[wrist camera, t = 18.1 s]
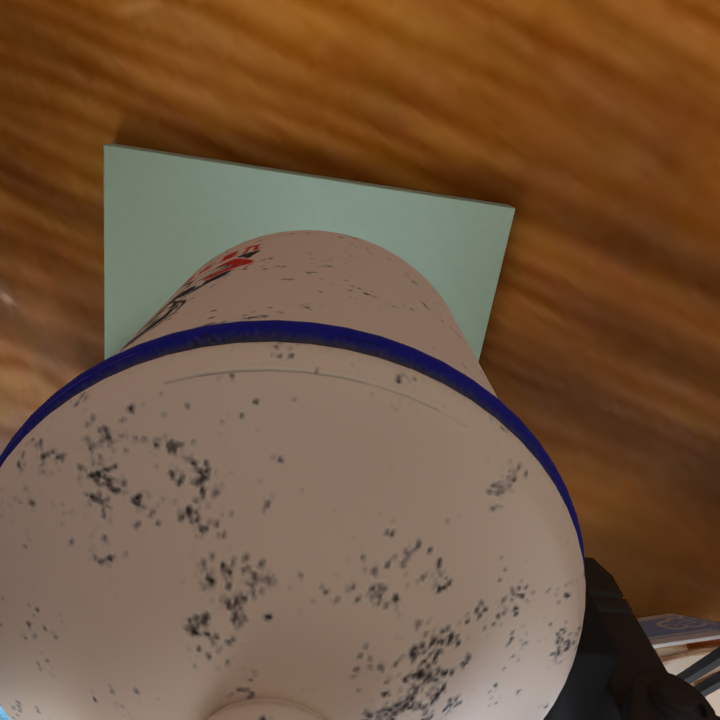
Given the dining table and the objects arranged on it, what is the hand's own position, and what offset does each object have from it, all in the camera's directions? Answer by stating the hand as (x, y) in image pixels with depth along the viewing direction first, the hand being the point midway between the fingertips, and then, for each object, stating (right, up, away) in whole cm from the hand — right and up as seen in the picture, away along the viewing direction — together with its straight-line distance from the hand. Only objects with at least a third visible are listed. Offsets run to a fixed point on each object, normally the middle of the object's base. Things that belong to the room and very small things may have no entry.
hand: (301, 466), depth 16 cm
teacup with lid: (-1, +1, +2) cm, 2 cm away
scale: (-2, +5, +18) cm, 18 cm away
